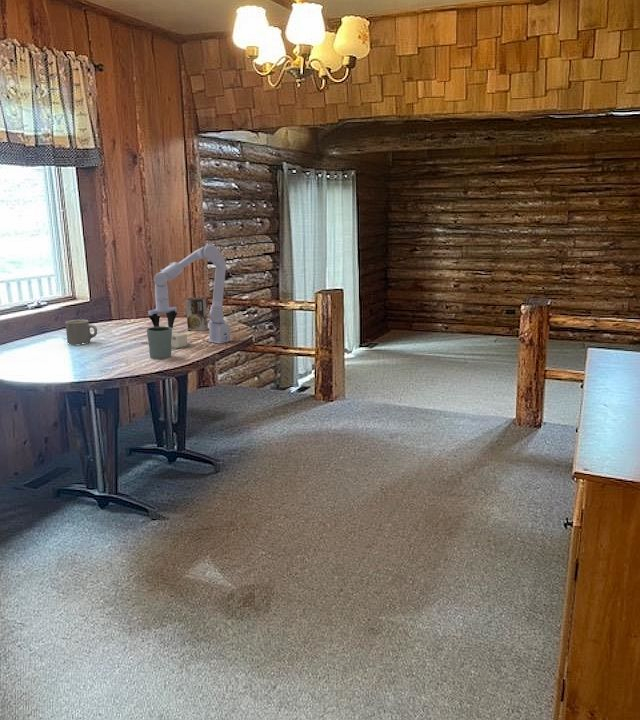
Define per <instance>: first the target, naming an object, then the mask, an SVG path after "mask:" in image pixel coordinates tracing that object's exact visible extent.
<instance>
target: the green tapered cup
mask: <svg viewBox="0 0 640 720" xmlns="http://www.w3.org/2000/svg"><path fill="white" fill-rule="evenodd" d="M172 332H173V328H171V327H168V326H162V325H161V326H159V327H154V326H151V327H148V328H147V329H146V333H147V341H148V342H149V344H148V348H149V350H148V352H149V358H150V359H152V358H153V360H165V359H164V358H166V359H169V357H170V358H172V349H171V340H172Z"/></svg>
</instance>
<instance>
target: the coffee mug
mask: <svg viewBox="0 0 640 720" xmlns="http://www.w3.org/2000/svg"><path fill="white" fill-rule="evenodd" d="M89 323H90V322H89V320H88V319H73V320H72V319H71V320H67V321H65V332H66V340H67V342H66V343H67V344H68V343H69V344H82V343H87V342H90V343H91V339H94V338H95V337H96V336H97V335H98V329H97V326H96V325H94V324H89ZM91 329H93V331H94V332H93V333H91V331H90V330H91ZM69 344H68V345H69ZM82 345H83V344H82Z"/></svg>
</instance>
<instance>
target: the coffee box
mask: <svg viewBox="0 0 640 720" xmlns="http://www.w3.org/2000/svg"><path fill="white" fill-rule="evenodd" d="M185 306H186V307H185V308H186V309H185V310H186V320H187V323H186V324H187V331H188V330H205V331H207V330H209V321H208V308H207V297H189V298H186V299H185ZM206 329H207V330H206Z"/></svg>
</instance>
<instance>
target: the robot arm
mask: <svg viewBox="0 0 640 720" xmlns="http://www.w3.org/2000/svg"><path fill="white" fill-rule="evenodd" d="M204 259H207V260H209V261H210V262H211V263H212V264H213V265H214V266H215V272H214V281H213V282H214V283H213V285H214V286H213V293H212V304H211V308H210V309H209V312H208V313H209V318H210V319H209V321H208V330H209V339H206V340H205V342H207V341H208V342H207V343H213V342H214V343H213V344H219V345H220V344H223V343H224V344H225V343H228V342H232V341H233V340H232V339H231V327H230V325H229V324H227V323H226V321H225V319H224V317H225V315H224V312H223V301H224V290H225V281H226V271H227V262H226V260H225V258H224V256H223V254H222V253H221V251H220V250H219V248H217V247H216V246H215V245H214V244H212V243H210V244H209V243H208V244H206V245H205V246H202V247H200V248H197V249H196V250H195V251H193V252H191V253H190V254H189V255H187V256H186V257H184V258H183V259H182V260H180V261H179V262H176V261H173V262H170V263H169V265H167V266H166V267H165V268H163V269H162V268H161V269H160V270H159V271H160V272H157V273H156V274H155V275H154V277H153V282H154V296H155V298H154V299H155V308H154V309H150V310H148V311H147V313H148V314H147V315H148V317H149V319H150V320H151V323H152V325H153V327H160V319H161V314H166V318H167V327H171V328H172V329H173V328H174V322H175V319H176V317H177V316H178V309H177V308H178V307H176V306H171V307H170V302H169V301H170V300H169V288H168V281H171V280H173V279H175V278H176V277H178V276H179V275H181V274H182V273H183V269H185V268H186V267H187V266H189V265H190V264H192V263H193V262H195V261H196V260H204Z"/></svg>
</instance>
